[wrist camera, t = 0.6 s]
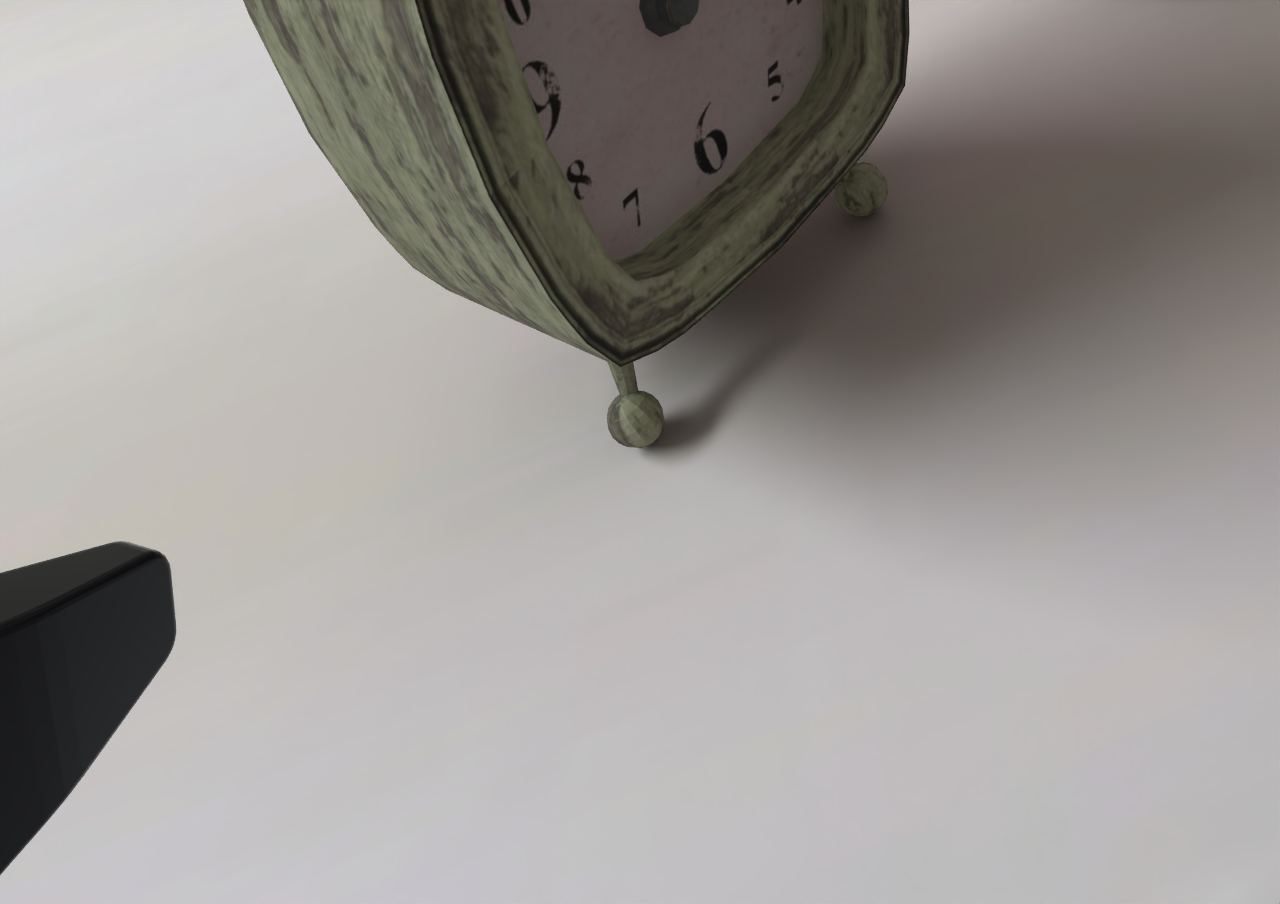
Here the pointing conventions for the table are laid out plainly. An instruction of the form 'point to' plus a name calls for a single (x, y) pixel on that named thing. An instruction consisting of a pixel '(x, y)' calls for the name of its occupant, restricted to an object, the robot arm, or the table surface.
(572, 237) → the tabletop clock
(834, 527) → the table surface
